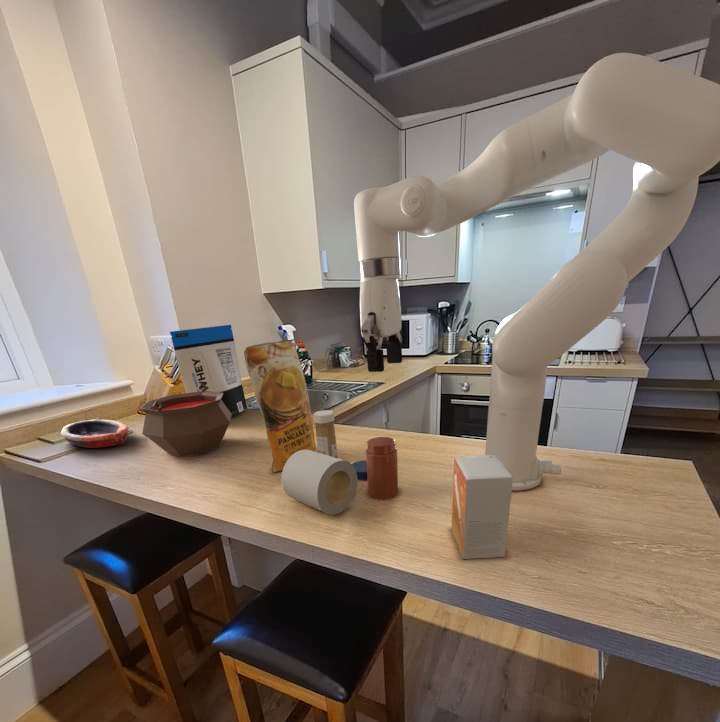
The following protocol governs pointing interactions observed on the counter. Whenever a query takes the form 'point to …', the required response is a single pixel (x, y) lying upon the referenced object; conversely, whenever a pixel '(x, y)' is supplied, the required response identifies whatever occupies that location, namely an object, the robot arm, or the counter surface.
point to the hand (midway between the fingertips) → (385, 367)
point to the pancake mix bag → (281, 398)
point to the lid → (361, 469)
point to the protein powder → (210, 364)
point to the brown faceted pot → (187, 422)
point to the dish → (95, 433)
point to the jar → (382, 468)
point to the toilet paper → (320, 481)
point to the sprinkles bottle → (325, 432)
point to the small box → (481, 506)
